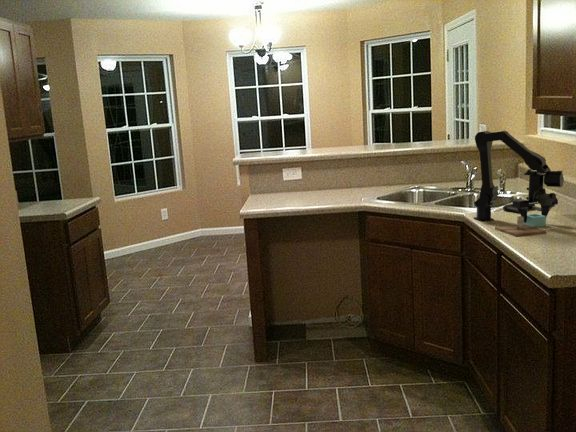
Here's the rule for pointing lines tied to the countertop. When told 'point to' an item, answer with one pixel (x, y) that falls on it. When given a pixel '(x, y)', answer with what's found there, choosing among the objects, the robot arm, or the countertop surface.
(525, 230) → the post plate
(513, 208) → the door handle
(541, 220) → the collar
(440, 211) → the countertop surface
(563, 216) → the countertop surface
